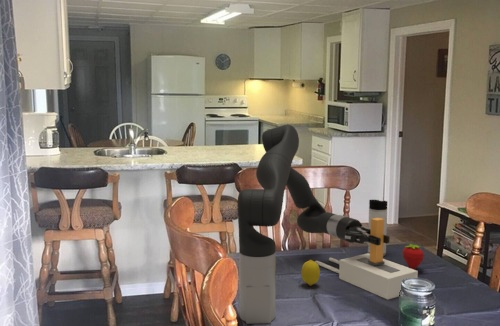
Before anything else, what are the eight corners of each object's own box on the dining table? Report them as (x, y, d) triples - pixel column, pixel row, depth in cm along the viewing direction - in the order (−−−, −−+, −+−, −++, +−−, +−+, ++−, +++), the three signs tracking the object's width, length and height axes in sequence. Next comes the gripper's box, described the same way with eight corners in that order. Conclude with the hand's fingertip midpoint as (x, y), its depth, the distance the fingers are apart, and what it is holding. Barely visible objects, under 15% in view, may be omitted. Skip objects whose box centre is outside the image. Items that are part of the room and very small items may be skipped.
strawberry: (412, 275, 168) (413, 244, 167) (397, 267, 175) (398, 238, 174) (427, 272, 170) (429, 242, 169) (412, 265, 177) (413, 236, 176)
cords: (359, 271, 171) (359, 268, 171) (342, 276, 167) (342, 272, 167) (330, 260, 183) (330, 256, 183) (314, 263, 179) (314, 260, 179)
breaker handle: (384, 263, 159) (385, 219, 157) (376, 265, 157) (378, 220, 155) (375, 260, 162) (376, 217, 160) (367, 262, 160) (369, 218, 158)
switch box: (417, 290, 155) (417, 270, 154) (387, 299, 148) (388, 278, 148) (367, 271, 172) (367, 252, 171) (339, 278, 165) (339, 259, 164)
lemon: (304, 281, 163) (305, 255, 162) (322, 284, 160) (322, 258, 159) (298, 287, 158) (298, 261, 157) (316, 290, 156) (316, 263, 154)
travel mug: (364, 255, 188) (366, 199, 185) (371, 250, 193) (373, 196, 191) (381, 258, 185) (383, 201, 182) (388, 253, 190) (390, 198, 187)
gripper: (327, 219, 166) (367, 232, 152) (360, 213, 174) (401, 225, 159) (327, 242, 167) (366, 257, 153) (360, 236, 175) (400, 249, 160)
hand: (384, 240), depth 156 cm, fingers closed on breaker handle, 3 cm apart
